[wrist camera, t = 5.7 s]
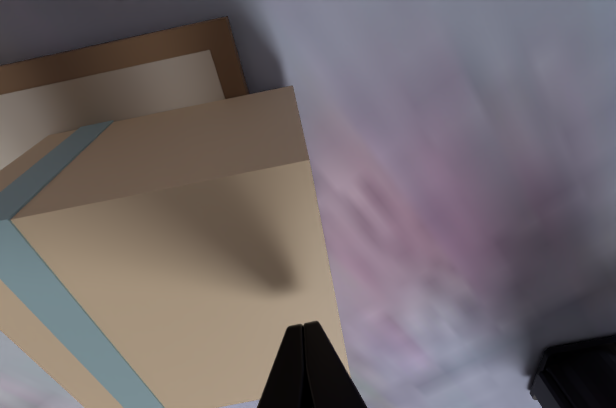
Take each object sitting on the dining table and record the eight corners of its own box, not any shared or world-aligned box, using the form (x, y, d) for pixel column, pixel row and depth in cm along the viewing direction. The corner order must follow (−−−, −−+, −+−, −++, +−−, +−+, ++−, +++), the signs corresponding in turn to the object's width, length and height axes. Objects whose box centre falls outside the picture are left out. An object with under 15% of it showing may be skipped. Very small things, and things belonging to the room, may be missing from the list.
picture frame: (227, 16, 12) (225, 18, 11) (304, 294, 19) (305, 304, 19) (-166, 101, 12) (-187, 108, 11) (64, 340, 20) (58, 351, 19)
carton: (308, 158, 7) (-101, 241, 7) (351, 384, 12) (107, 430, 13) (292, 83, 12) (48, 133, 13) (327, 265, 17) (153, 299, 18)
